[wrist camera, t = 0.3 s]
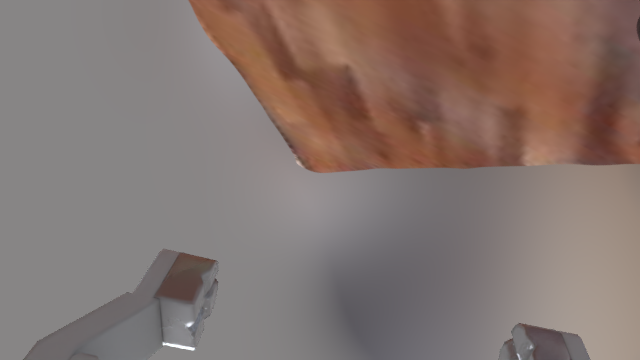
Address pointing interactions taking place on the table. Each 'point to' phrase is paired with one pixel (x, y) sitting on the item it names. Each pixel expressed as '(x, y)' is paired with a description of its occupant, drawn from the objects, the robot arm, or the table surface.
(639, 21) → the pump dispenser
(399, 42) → the table surface
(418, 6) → the table surface
